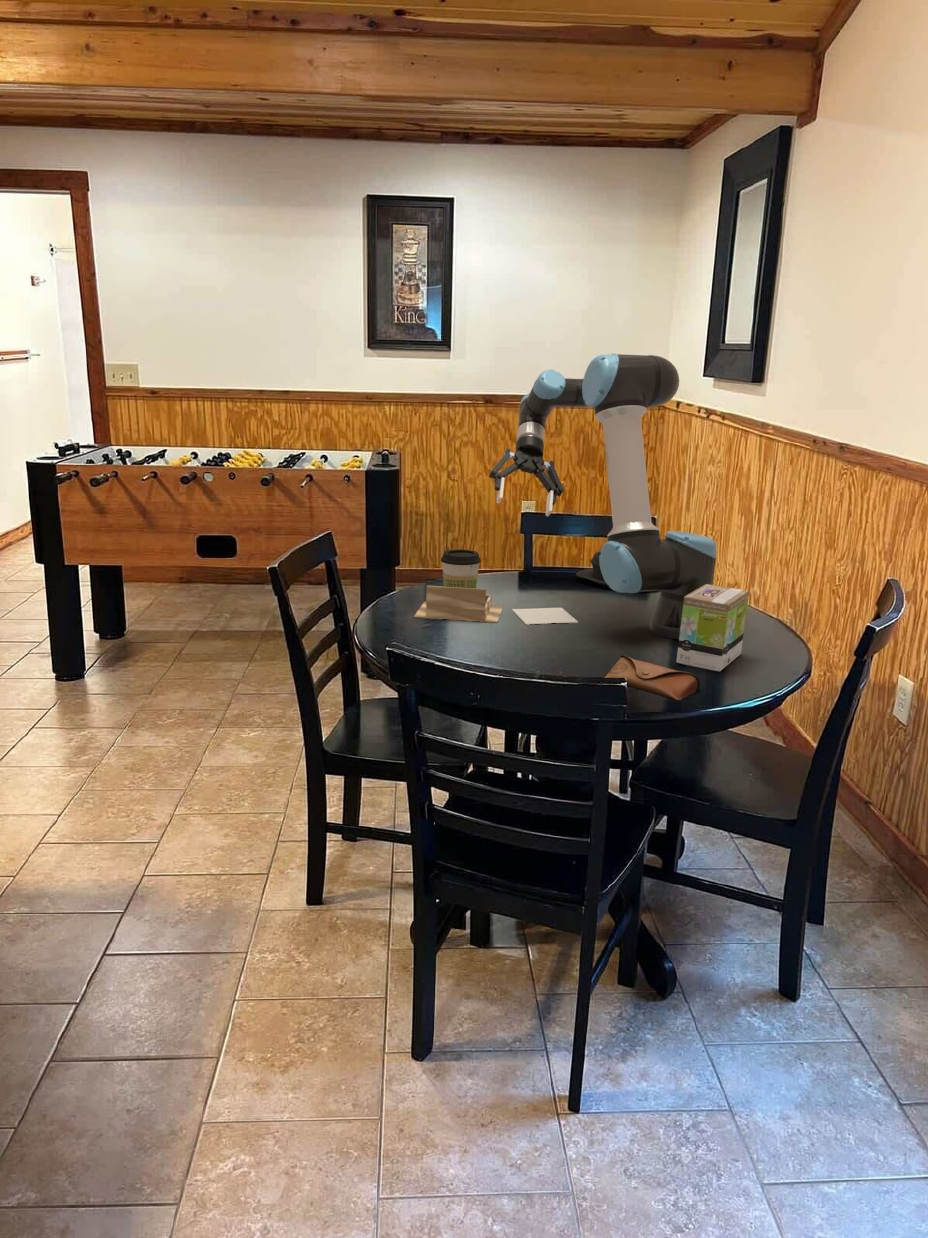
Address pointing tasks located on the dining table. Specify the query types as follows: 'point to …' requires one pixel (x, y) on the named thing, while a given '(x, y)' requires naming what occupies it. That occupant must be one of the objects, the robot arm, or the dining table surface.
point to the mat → (544, 616)
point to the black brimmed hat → (593, 571)
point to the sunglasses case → (655, 678)
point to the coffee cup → (460, 568)
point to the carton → (458, 605)
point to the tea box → (712, 627)
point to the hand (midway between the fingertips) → (524, 507)
